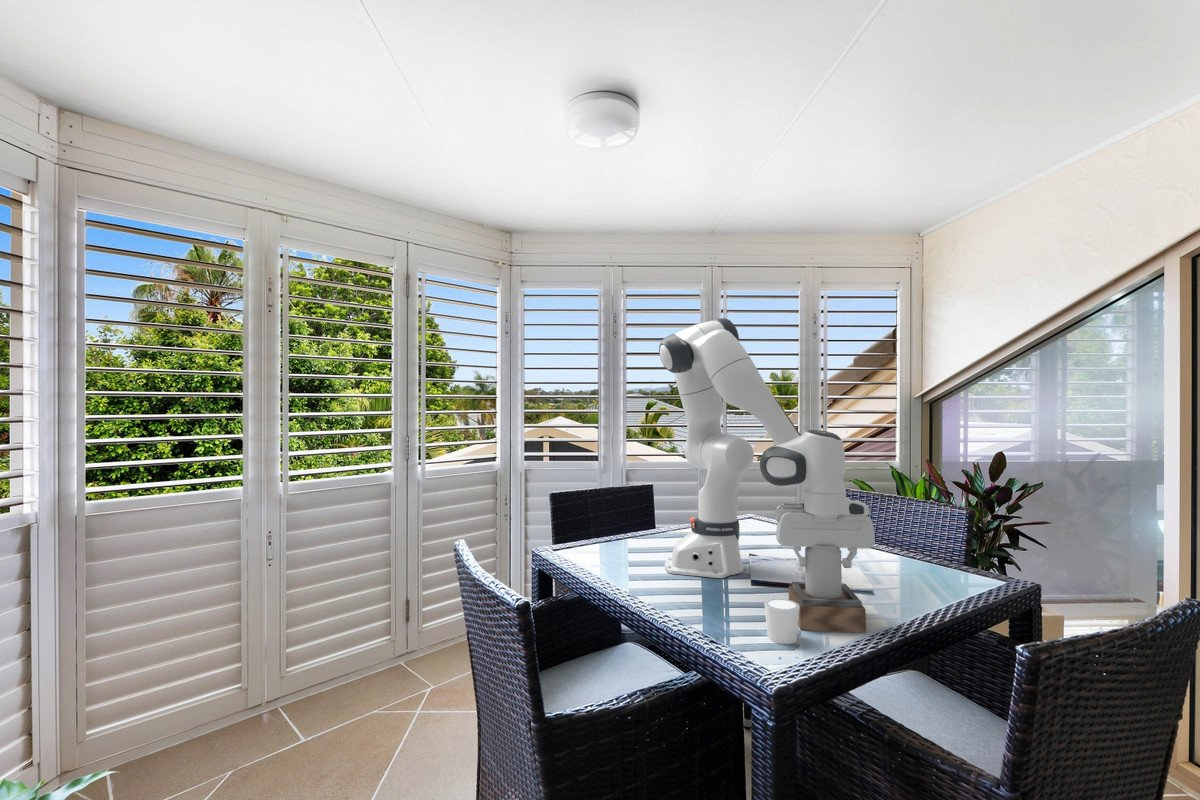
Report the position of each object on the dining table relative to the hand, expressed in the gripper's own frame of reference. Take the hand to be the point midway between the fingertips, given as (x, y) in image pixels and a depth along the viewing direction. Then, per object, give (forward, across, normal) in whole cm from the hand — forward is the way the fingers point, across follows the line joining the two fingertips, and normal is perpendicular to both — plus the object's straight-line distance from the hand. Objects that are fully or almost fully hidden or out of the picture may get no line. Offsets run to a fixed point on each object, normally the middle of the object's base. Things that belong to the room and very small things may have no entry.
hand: (824, 566), depth 123 cm
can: (+7, 0, 0) cm, 7 cm away
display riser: (+12, 0, 0) cm, 12 cm away
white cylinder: (+12, -11, -11) cm, 20 cm away
